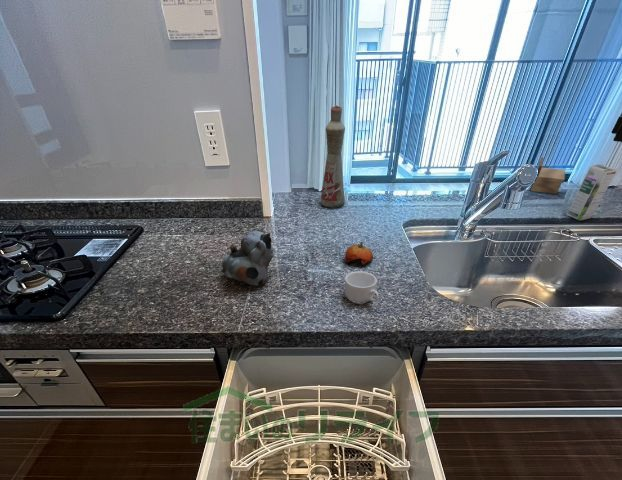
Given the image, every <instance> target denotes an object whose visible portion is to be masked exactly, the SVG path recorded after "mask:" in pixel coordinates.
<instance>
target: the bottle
mask: <svg viewBox="0 0 622 480" xmlns="http://www.w3.org/2000/svg"><path fill="white" fill-rule="evenodd" d="M342 113H343V108H342V107H341V106H339V105H338V104H335V106H331V108H330V121H329V122H328V123H327V124H326V127H325V135H326V136H325V137H326V149H327V150H326V151H327V154H326V159H325V166H324V173H323V181H322V187H321V195H320V204H321V205H322V206H323V207H326V208H330V209H331V208H340V207H342V206H344V204H345V201H346V198H345V188H344V175H343V174H344V173H343V160H342V151H343V145H344V137H345V131H346V127H345V125H344V123H343V122H342Z"/></svg>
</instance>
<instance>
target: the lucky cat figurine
mask: <svg viewBox="0 0 622 480" xmlns="http://www.w3.org/2000/svg"><path fill="white" fill-rule="evenodd" d="M229 250H230V253H229V255H226V256H225V257H224V259H223V260H222V267H221V268H222V269H220V272H221V273H222V274H223V276H224V277H226V278H229V279H231V280H235V281H240V282H243V283H245V284H247V285H250V286H256V287H259V286H260V287H263V286H264V285H265V284H266V283H267V279H268V274H269V273H268V269H269V265H270V263H271V261H272V260H273V258H274V255H275V254H274V244H273V243H272V238H271V232H267V233H266V231H265V230H262V231H258V230H257V231H256V230H255V231H249V232H248V233H247V234H245V235H244V236H243V237H241V239H240V248H239V249H238V248H237V245H236V244H233V243H231V245H230V246H229Z"/></svg>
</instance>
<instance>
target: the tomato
mask: <svg viewBox="0 0 622 480" xmlns="http://www.w3.org/2000/svg"><path fill="white" fill-rule="evenodd" d="M344 254H345V255H344V260H345V263H346V264H348V266H349V262H353V261H357V259H361V260H360V261H361V263H362V265H365V264H366V263H367V264H368V262H371V261H373V260H374V254H373V251H372V250H371V249H370V248H368V247H366V246H364V242H363V241H361V242H359V243H358V244H352V245H351V246H349V247H348V248H347V249H346V251H345V253H344Z"/></svg>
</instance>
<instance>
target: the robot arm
mask: <svg viewBox="0 0 622 480" xmlns="http://www.w3.org/2000/svg"><path fill="white" fill-rule="evenodd" d="M611 134H613V135H614V137H613V142H618V143H619V142H620V143H622V111H621V112H620V115H619V116H618V118H617V120H616V121H615V123H614V126H613V127H612V129H611Z"/></svg>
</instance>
